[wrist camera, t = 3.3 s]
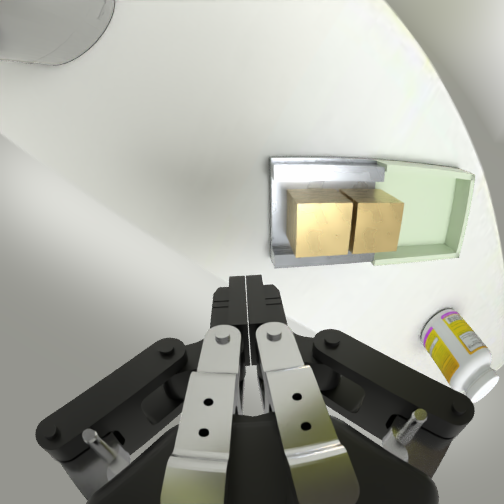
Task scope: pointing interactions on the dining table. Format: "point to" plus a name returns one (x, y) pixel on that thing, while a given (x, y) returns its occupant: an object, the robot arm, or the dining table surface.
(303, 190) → the brass block
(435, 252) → the tray
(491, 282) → the dining table surface
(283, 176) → the slot rail
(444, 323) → the supplement bottle
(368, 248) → the brass block
